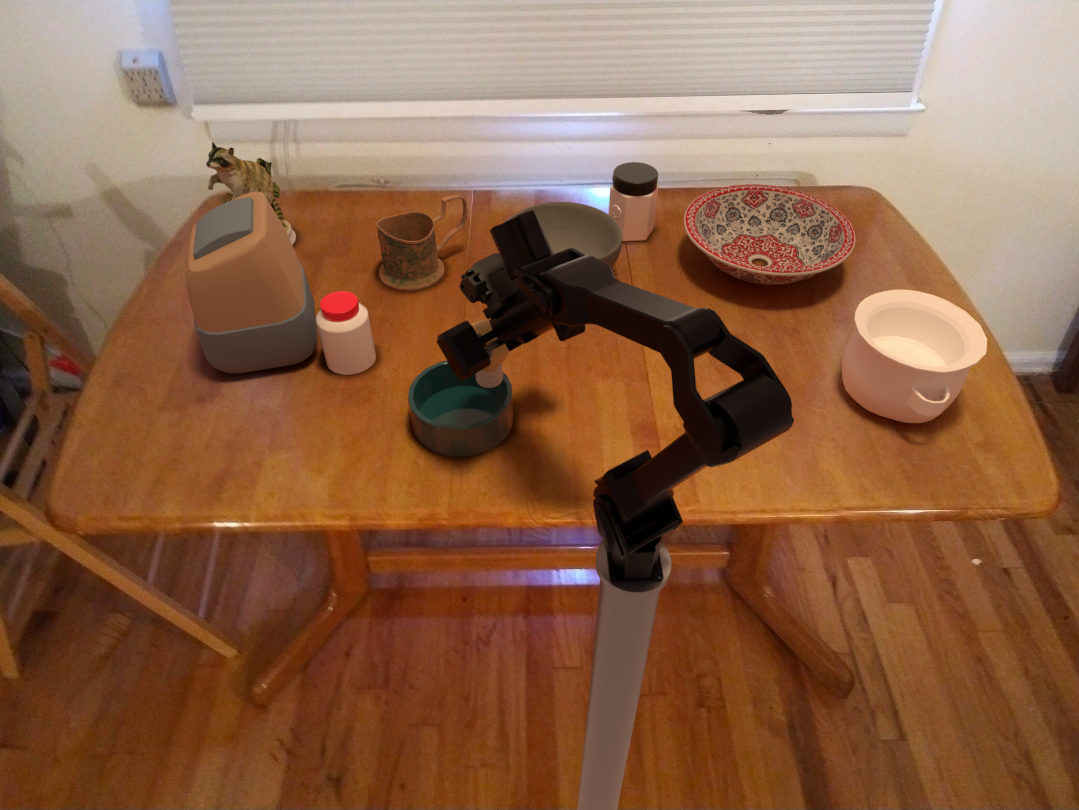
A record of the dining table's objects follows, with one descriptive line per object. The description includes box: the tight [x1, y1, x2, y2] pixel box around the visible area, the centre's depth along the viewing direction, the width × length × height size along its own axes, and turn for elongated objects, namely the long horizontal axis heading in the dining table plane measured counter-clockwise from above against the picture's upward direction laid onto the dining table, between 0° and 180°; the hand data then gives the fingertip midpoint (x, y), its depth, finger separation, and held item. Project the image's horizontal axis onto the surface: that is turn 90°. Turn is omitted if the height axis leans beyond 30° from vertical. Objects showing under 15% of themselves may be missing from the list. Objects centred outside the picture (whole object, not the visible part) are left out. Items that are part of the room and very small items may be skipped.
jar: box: [607, 161, 660, 242], centre depth 145 cm, size 9×8×12 cm
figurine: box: [205, 141, 297, 246], centre depth 139 cm, size 12×14×20 cm
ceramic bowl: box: [683, 183, 856, 286], centre depth 138 cm, size 29×29×8 cm
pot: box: [841, 289, 988, 424], centre depth 113 cm, size 22×17×12 cm
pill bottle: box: [315, 290, 377, 376], centre depth 118 cm, size 8×8×11 cm
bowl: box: [503, 201, 623, 268], centre depth 134 cm, size 20×20×10 cm
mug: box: [375, 194, 468, 292], centre depth 136 cm, size 12×18×12 cm, turn 124°
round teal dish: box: [407, 359, 514, 458], centre depth 111 cm, size 14×14×6 cm
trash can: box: [185, 192, 318, 374], centre depth 117 cm, size 17×17×23 cm
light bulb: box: [470, 319, 510, 388], centre depth 106 cm, size 6×6×10 cm
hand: (480, 340), depth 105 cm, fingers closed on light bulb, 6 cm apart
